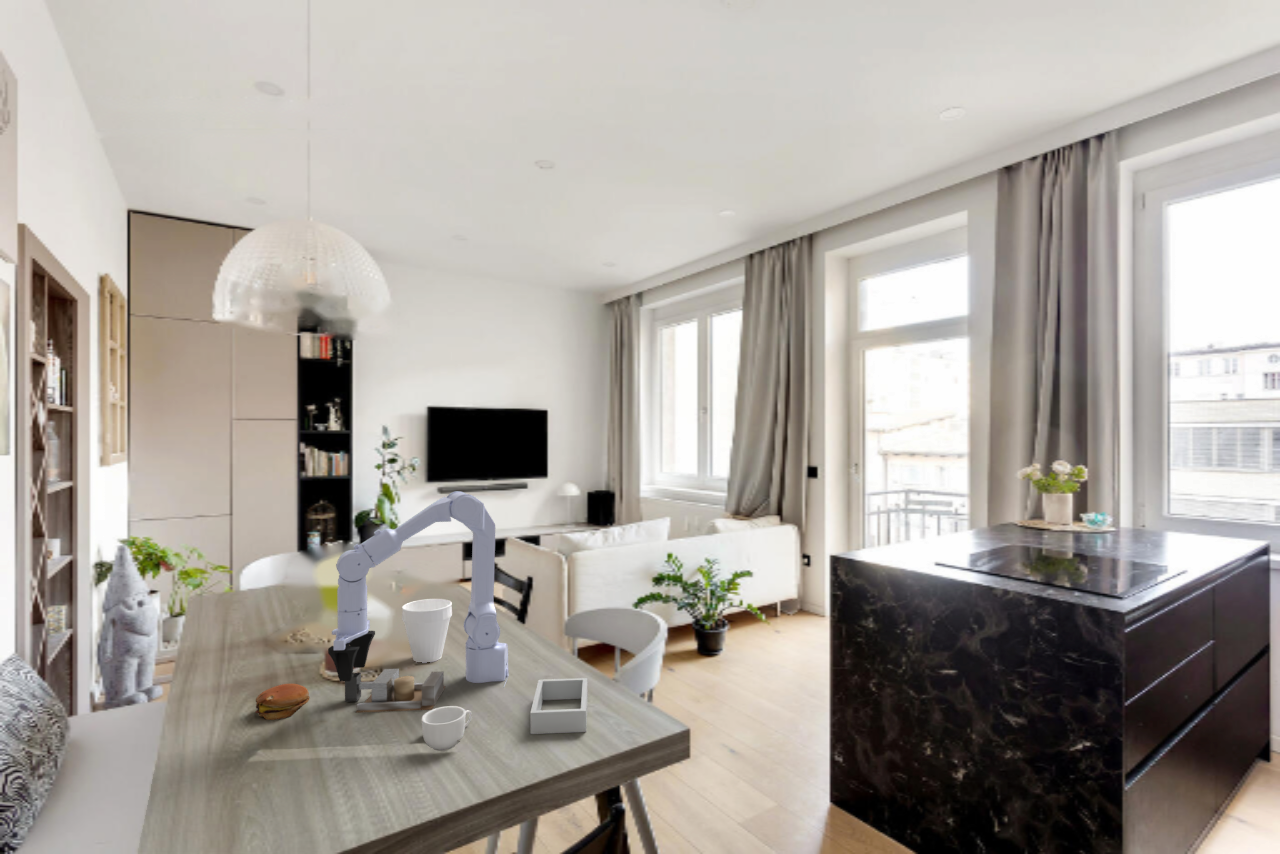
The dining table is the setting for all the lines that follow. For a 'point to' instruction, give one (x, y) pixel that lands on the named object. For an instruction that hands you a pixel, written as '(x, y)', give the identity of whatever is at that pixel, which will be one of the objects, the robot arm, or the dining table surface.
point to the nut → (404, 688)
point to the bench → (423, 700)
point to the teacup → (444, 726)
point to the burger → (281, 701)
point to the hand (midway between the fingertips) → (352, 673)
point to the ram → (372, 686)
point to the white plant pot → (427, 627)
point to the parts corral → (564, 717)
